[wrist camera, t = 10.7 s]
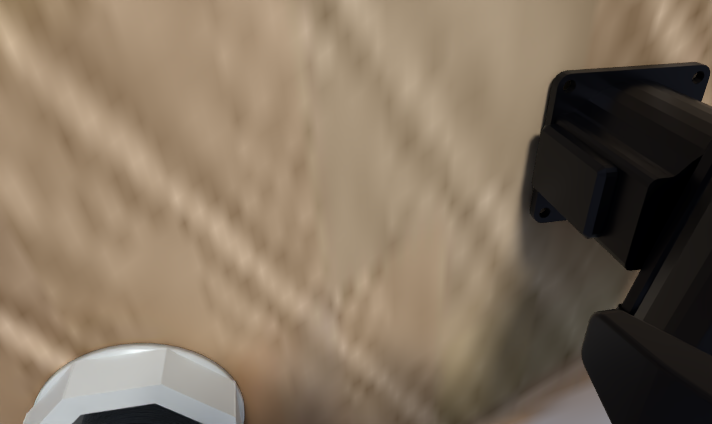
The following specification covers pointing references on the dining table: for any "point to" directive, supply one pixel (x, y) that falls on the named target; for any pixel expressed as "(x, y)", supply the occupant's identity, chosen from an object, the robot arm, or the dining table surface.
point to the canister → (138, 416)
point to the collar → (139, 385)
